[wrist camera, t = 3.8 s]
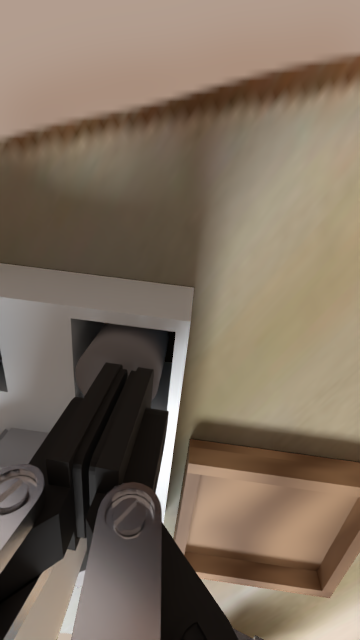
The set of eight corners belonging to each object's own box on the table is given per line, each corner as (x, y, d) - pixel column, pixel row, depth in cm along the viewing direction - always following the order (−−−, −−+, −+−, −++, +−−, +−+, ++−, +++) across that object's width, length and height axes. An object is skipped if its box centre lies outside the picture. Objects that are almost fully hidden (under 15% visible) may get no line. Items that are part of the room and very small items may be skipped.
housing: (194, 287, 14) (187, 349, 9) (163, 514, 22) (150, 623, 16) (-44, 257, 14) (-193, 298, 9) (8, 491, 22) (-57, 591, 17)
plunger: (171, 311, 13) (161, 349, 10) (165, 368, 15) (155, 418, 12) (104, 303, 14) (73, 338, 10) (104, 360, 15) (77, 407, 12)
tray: (380, 465, 18) (397, 493, 16) (320, 569, 23) (329, 598, 21) (189, 438, 18) (188, 463, 17) (172, 546, 23) (169, 573, 22)
